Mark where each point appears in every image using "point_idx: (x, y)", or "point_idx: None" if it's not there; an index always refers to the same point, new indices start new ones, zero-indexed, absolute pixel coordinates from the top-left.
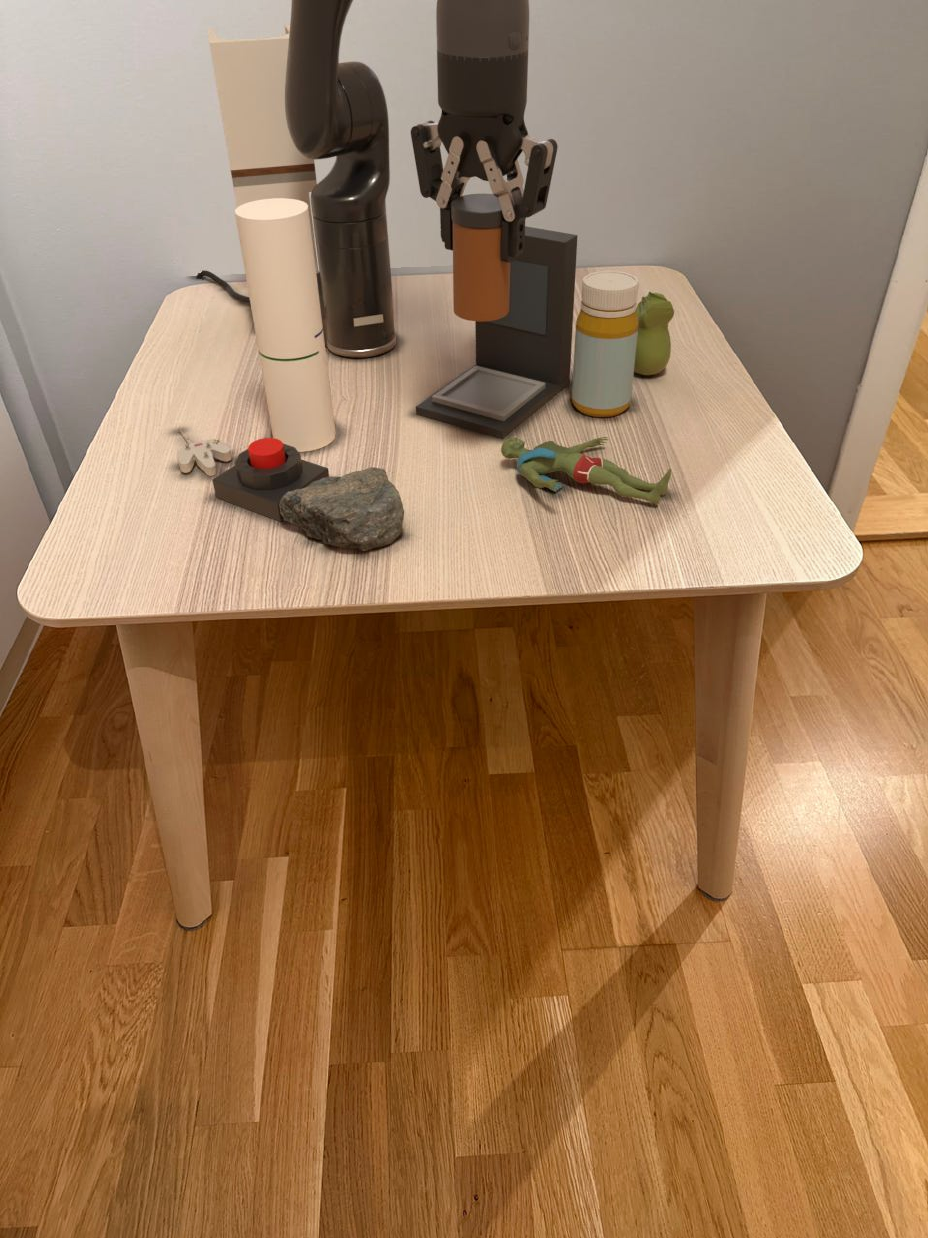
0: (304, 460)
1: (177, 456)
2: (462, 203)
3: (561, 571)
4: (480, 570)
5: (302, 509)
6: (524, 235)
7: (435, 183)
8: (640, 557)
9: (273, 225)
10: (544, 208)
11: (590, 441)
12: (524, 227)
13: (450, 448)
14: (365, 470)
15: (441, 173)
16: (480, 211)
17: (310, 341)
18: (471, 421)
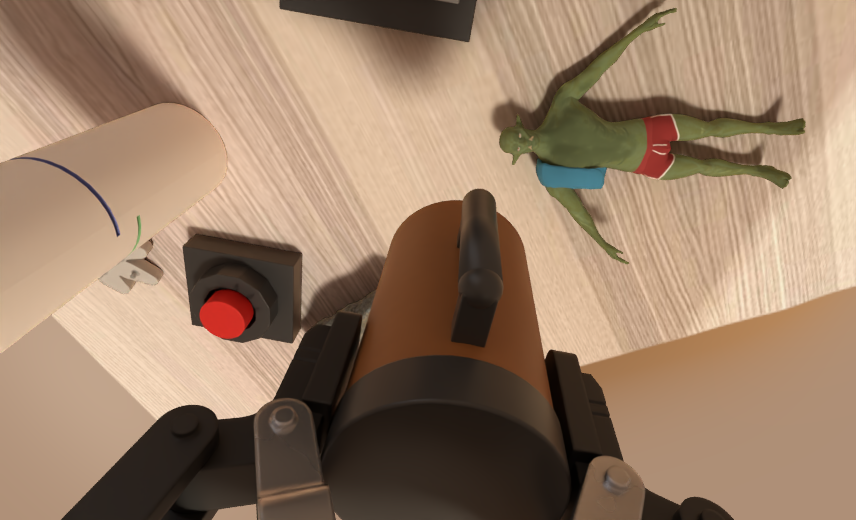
0: (253, 260)
1: (108, 286)
2: (376, 511)
3: (635, 322)
4: (544, 342)
5: None
6: (610, 420)
7: (202, 497)
8: (731, 276)
9: None
10: (724, 511)
11: (642, 30)
12: (616, 444)
13: (399, 105)
14: (365, 316)
15: (180, 493)
16: None
17: (122, 244)
18: (401, 26)
